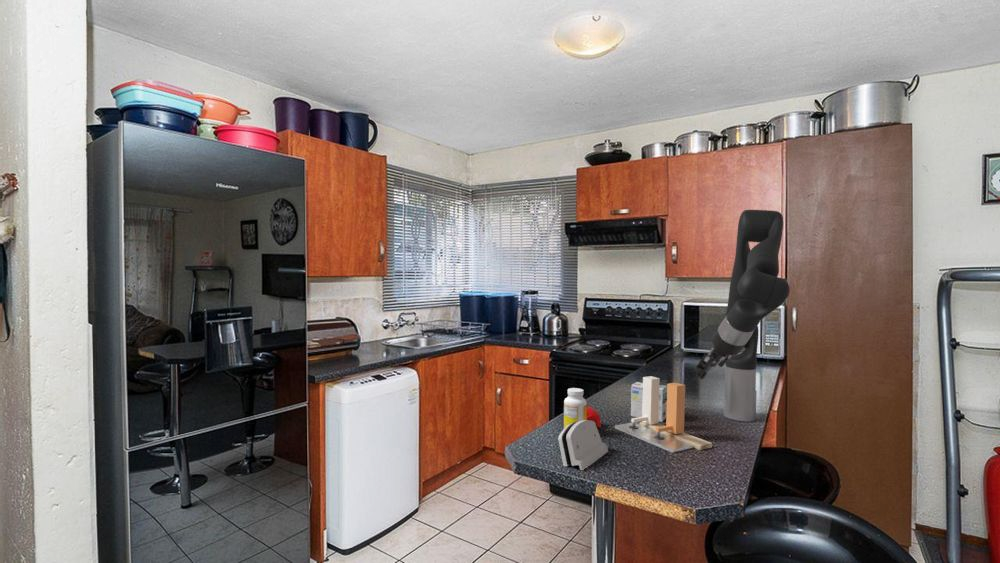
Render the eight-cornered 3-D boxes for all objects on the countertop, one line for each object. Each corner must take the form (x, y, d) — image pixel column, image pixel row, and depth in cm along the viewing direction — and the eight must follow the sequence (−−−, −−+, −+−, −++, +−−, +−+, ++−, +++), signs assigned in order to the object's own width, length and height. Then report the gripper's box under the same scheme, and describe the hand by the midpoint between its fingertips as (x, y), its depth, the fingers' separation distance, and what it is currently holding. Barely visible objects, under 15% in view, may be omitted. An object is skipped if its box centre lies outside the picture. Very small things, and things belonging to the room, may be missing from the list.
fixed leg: (649, 420, 145) (651, 376, 145) (658, 424, 142) (659, 378, 142) (628, 424, 141) (629, 378, 141) (636, 428, 138) (638, 381, 138)
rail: (650, 424, 146) (650, 420, 146) (712, 447, 127) (712, 443, 127) (639, 426, 143) (639, 422, 143) (700, 450, 124) (700, 445, 124)
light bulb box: (667, 417, 154) (668, 385, 154) (662, 422, 148) (663, 389, 148) (635, 411, 159) (636, 381, 159) (629, 416, 154) (630, 384, 154)
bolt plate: (633, 424, 145) (633, 421, 145) (692, 448, 126) (692, 444, 126) (614, 428, 141) (614, 425, 141) (672, 452, 122) (672, 449, 122)
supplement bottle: (579, 428, 140) (581, 386, 140) (589, 435, 134) (591, 392, 134) (559, 429, 138) (560, 387, 138) (569, 437, 132) (570, 393, 132)
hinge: (581, 471, 109) (570, 429, 110) (564, 473, 111) (553, 431, 113) (608, 450, 122) (598, 413, 124) (593, 452, 125) (582, 416, 127)
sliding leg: (674, 429, 137) (675, 382, 137) (683, 433, 134) (685, 385, 134) (652, 434, 132) (653, 385, 132) (661, 438, 129) (663, 388, 129)
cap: (572, 417, 141) (589, 410, 138) (575, 406, 146) (591, 398, 143) (587, 437, 141) (603, 430, 139) (589, 425, 147) (605, 418, 144)
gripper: (737, 314, 124) (714, 351, 135) (704, 334, 118) (682, 371, 129) (761, 333, 120) (735, 370, 131) (728, 354, 114) (703, 391, 125)
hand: (709, 370), depth 130 cm, fingers open, 8 cm apart
